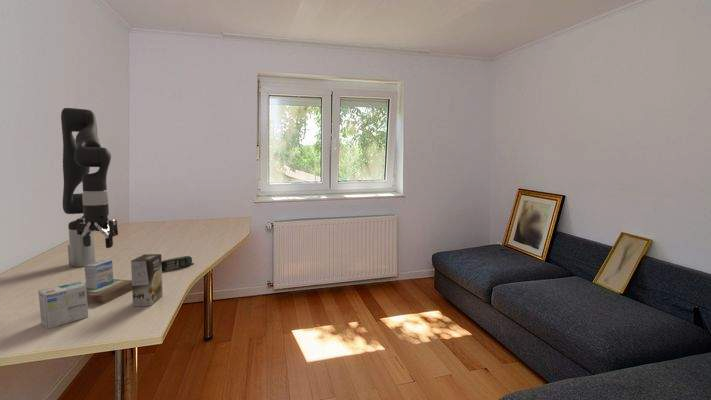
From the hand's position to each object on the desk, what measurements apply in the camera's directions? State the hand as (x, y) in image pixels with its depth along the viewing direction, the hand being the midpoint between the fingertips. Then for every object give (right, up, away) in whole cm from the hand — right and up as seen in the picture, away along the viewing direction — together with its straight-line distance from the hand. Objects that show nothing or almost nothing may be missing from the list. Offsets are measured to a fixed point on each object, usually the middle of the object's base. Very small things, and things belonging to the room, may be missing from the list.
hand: (98, 246), depth 134 cm
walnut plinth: (0, -18, +2) cm, 18 cm away
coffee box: (+20, -19, -3) cm, 28 cm away
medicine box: (-1, -15, +2) cm, 15 cm away
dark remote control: (+12, -15, +36) cm, 40 cm away
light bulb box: (+3, -21, -19) cm, 28 cm away
